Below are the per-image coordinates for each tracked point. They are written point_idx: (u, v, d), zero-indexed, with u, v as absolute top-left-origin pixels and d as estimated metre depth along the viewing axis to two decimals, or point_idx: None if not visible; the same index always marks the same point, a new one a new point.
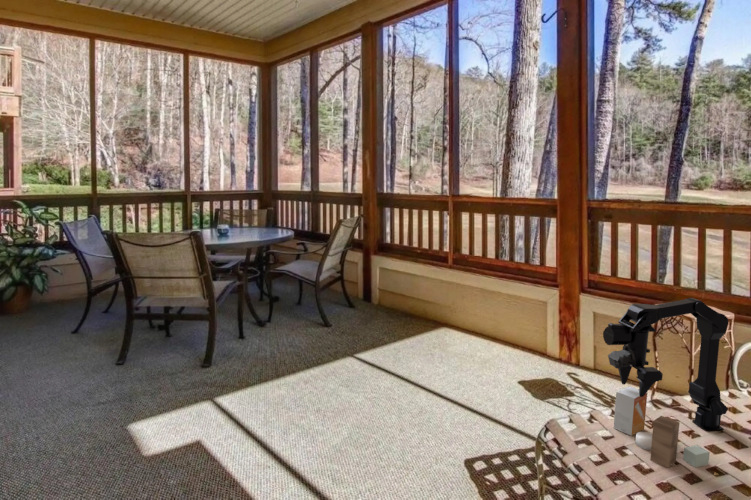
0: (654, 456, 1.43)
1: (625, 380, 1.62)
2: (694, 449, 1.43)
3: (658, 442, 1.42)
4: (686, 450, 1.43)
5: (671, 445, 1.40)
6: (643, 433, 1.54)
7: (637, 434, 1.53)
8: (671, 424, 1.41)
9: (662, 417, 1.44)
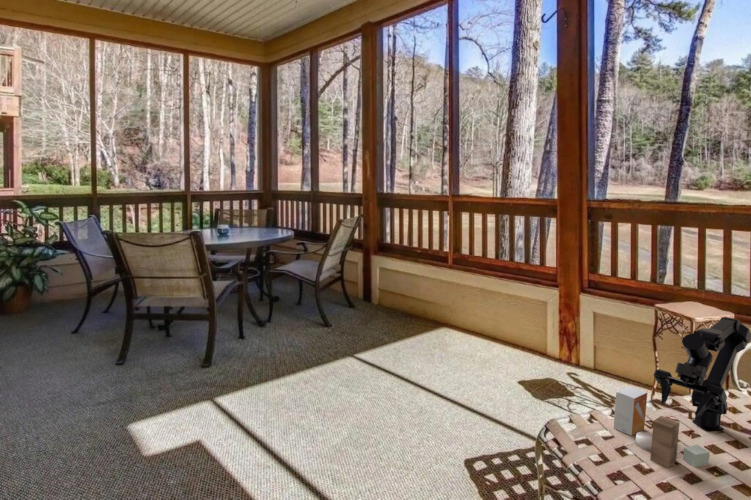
0: (654, 456, 1.43)
1: (665, 401, 1.51)
2: (694, 449, 1.43)
3: (658, 442, 1.42)
4: (686, 450, 1.43)
5: (671, 445, 1.40)
6: (643, 433, 1.54)
7: (637, 434, 1.53)
8: (671, 424, 1.41)
9: (662, 417, 1.44)
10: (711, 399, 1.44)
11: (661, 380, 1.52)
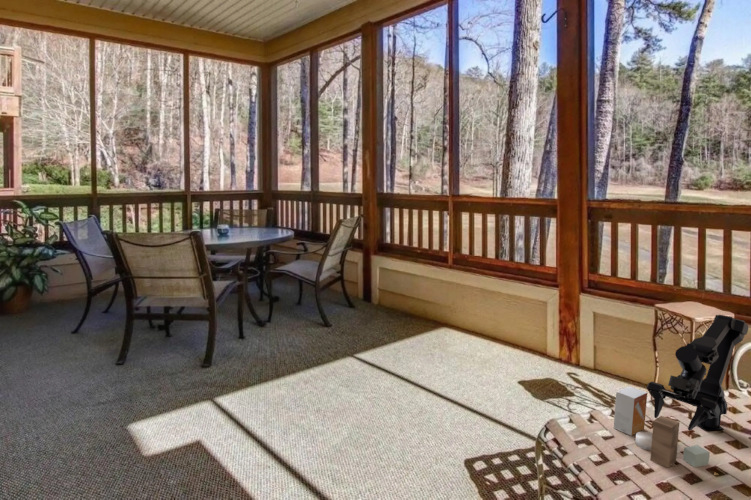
0: (654, 456, 1.43)
1: (658, 414, 1.49)
2: (694, 449, 1.43)
3: (658, 442, 1.42)
4: (686, 450, 1.43)
5: (671, 445, 1.40)
6: (643, 433, 1.54)
7: (637, 434, 1.53)
8: (671, 424, 1.40)
9: (662, 417, 1.44)
10: (704, 413, 1.41)
11: (654, 393, 1.50)
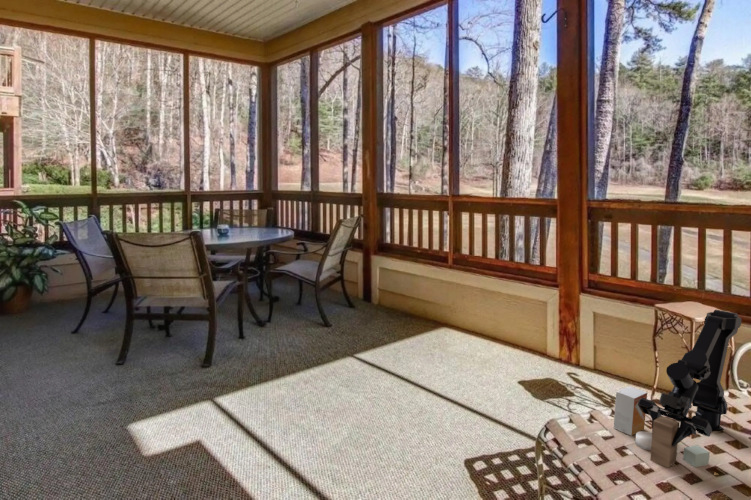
0: (654, 456, 1.43)
1: None
2: (694, 449, 1.43)
3: (658, 442, 1.42)
4: (686, 450, 1.43)
5: (671, 445, 1.40)
6: (644, 433, 1.54)
7: (637, 433, 1.54)
8: (671, 424, 1.40)
9: (662, 417, 1.44)
10: (688, 429, 1.41)
11: (652, 412, 1.46)
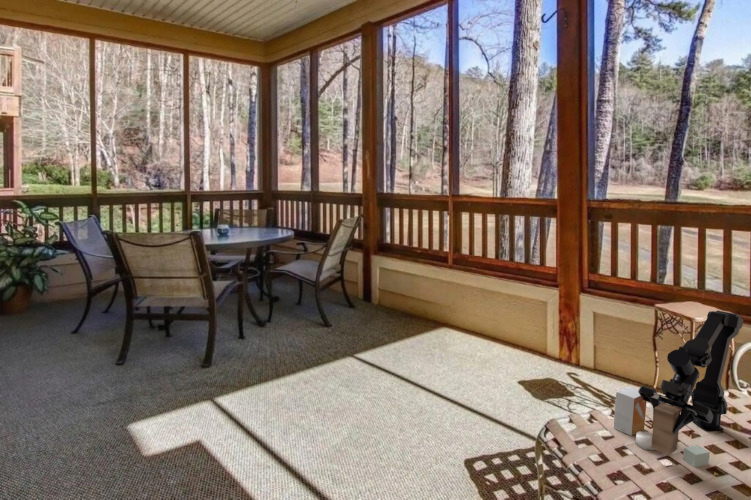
0: (655, 443, 1.43)
1: None
2: (694, 449, 1.43)
3: (659, 429, 1.41)
4: (686, 450, 1.43)
5: (672, 432, 1.39)
6: (644, 433, 1.54)
7: (638, 433, 1.54)
8: (672, 411, 1.40)
9: (663, 404, 1.44)
10: (689, 415, 1.40)
11: (653, 399, 1.46)
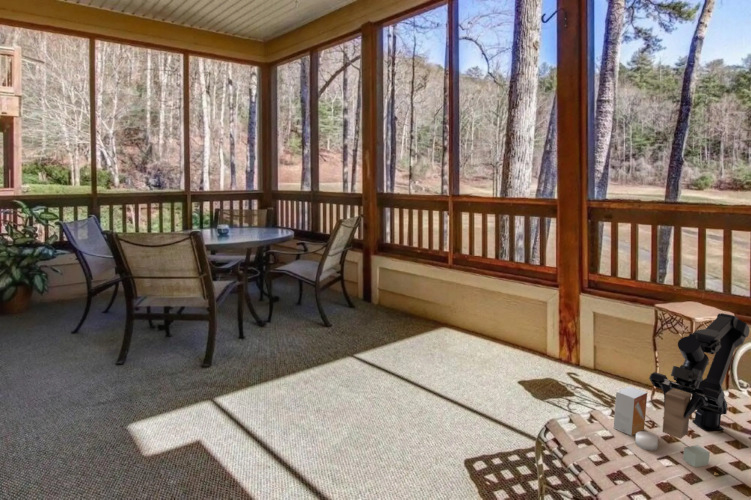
0: (667, 428, 1.46)
1: None
2: (694, 449, 1.43)
3: (670, 414, 1.45)
4: (686, 450, 1.43)
5: (683, 416, 1.43)
6: (645, 433, 1.54)
7: (637, 433, 1.54)
8: (683, 396, 1.43)
9: (673, 390, 1.47)
10: (700, 400, 1.43)
11: (663, 385, 1.49)
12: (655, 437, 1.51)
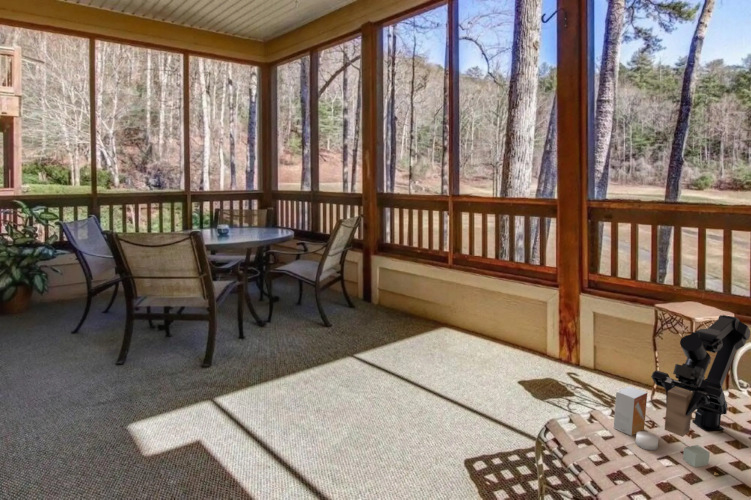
0: (669, 426, 1.47)
1: None
2: (694, 449, 1.43)
3: (672, 412, 1.46)
4: (686, 450, 1.43)
5: (685, 414, 1.44)
6: (647, 433, 1.54)
7: (639, 432, 1.54)
8: (685, 394, 1.44)
9: (675, 388, 1.48)
10: (702, 398, 1.44)
11: (666, 383, 1.50)
12: (656, 438, 1.51)
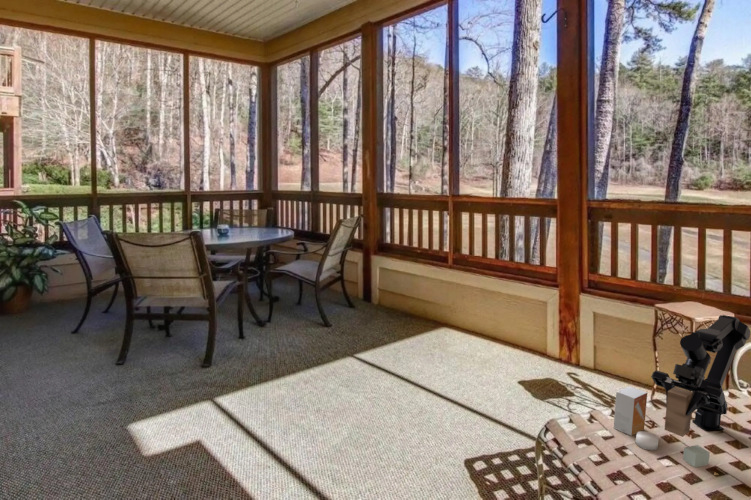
0: (669, 426, 1.47)
1: None
2: (694, 449, 1.43)
3: (672, 412, 1.46)
4: (686, 450, 1.43)
5: (685, 414, 1.44)
6: (648, 433, 1.54)
7: (640, 431, 1.54)
8: (685, 394, 1.44)
9: (675, 388, 1.48)
10: (702, 398, 1.44)
11: (666, 383, 1.50)
12: (656, 439, 1.51)
